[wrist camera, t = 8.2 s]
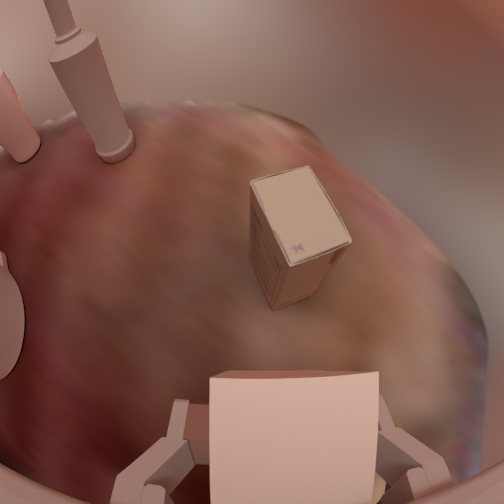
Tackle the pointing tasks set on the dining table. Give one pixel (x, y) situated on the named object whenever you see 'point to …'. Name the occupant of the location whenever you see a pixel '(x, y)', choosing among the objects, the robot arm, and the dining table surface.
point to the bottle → (88, 84)
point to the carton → (293, 437)
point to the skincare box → (293, 235)
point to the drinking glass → (15, 124)
